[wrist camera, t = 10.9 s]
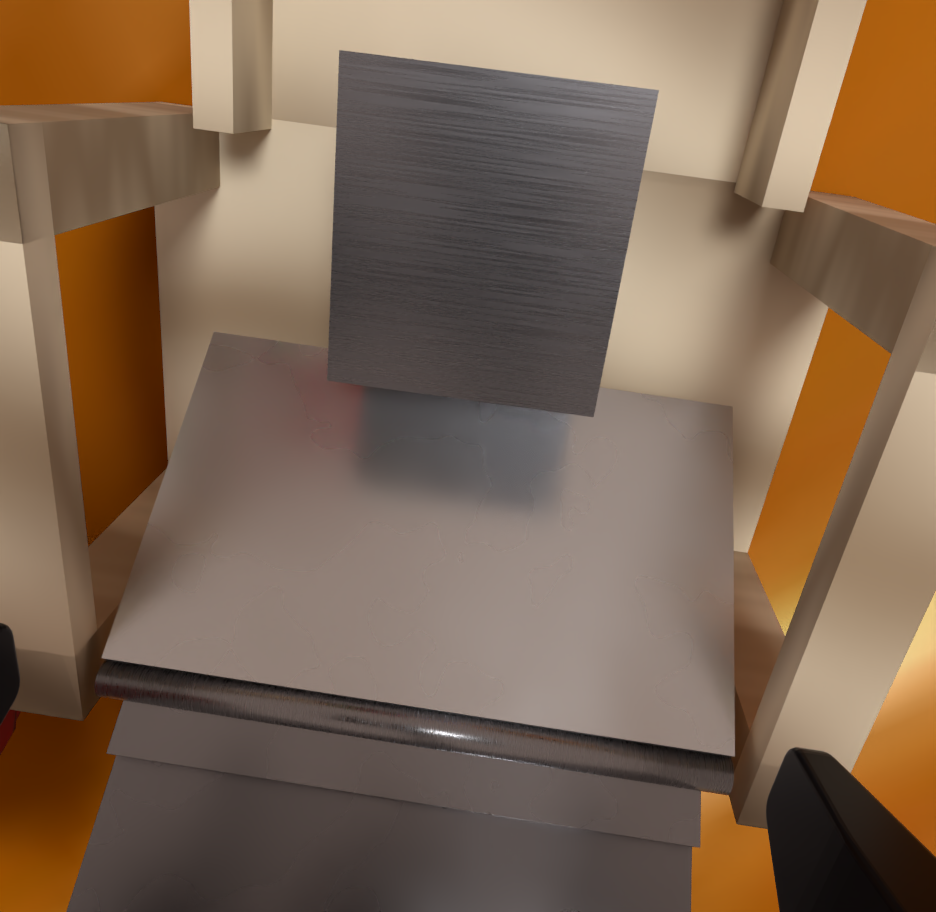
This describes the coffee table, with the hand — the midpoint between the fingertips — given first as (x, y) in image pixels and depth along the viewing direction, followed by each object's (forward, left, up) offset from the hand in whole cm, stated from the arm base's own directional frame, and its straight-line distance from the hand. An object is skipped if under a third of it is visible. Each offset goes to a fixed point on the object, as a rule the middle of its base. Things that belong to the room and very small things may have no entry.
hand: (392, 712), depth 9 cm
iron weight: (+1, 0, -9) cm, 9 cm away
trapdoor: (-8, 0, -9) cm, 12 cm away
